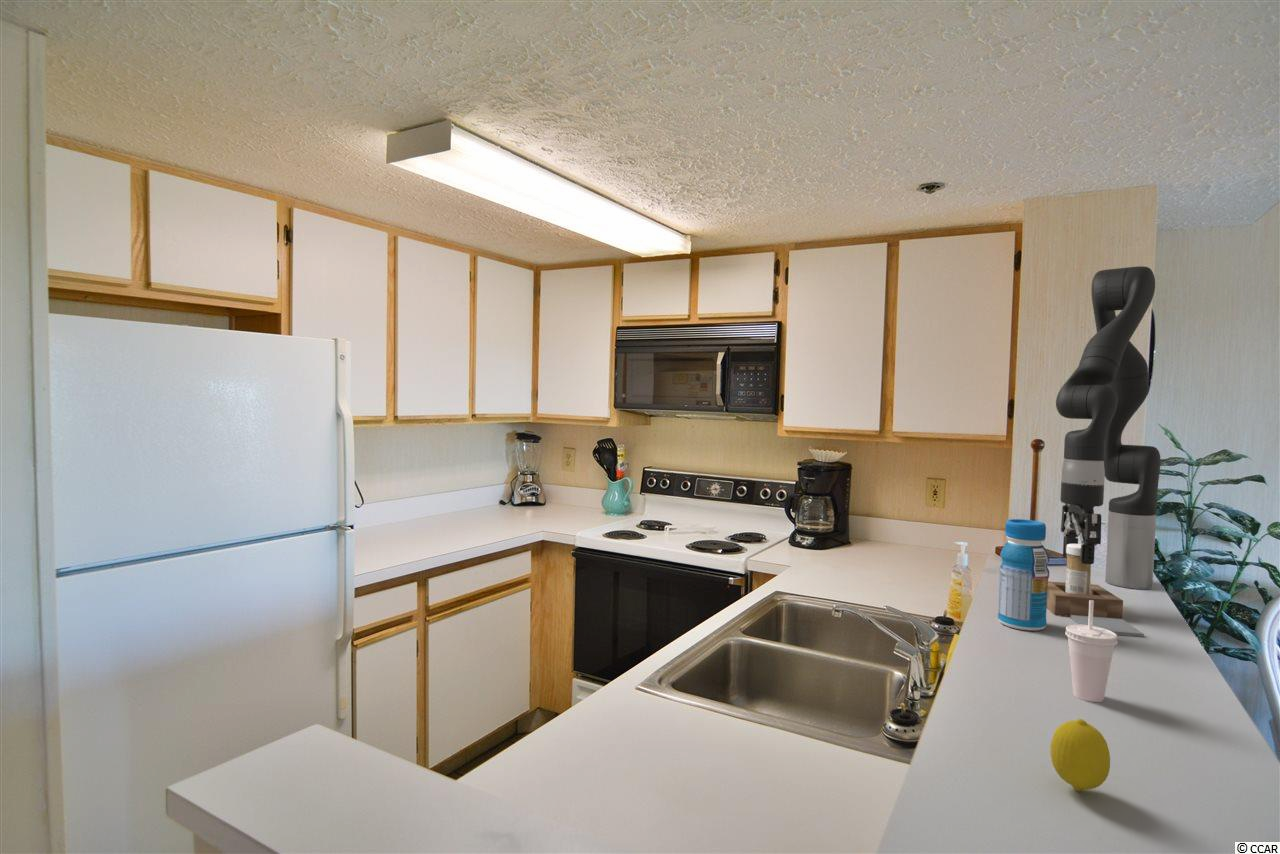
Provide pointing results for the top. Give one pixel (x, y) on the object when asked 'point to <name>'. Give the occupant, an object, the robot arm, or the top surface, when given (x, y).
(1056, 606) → the walnut socket block
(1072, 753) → the lemon
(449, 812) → the top surface
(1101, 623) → the slate pad
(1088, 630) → the smoothie
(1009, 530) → the beverage bottle
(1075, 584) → the sprinkles bottle
